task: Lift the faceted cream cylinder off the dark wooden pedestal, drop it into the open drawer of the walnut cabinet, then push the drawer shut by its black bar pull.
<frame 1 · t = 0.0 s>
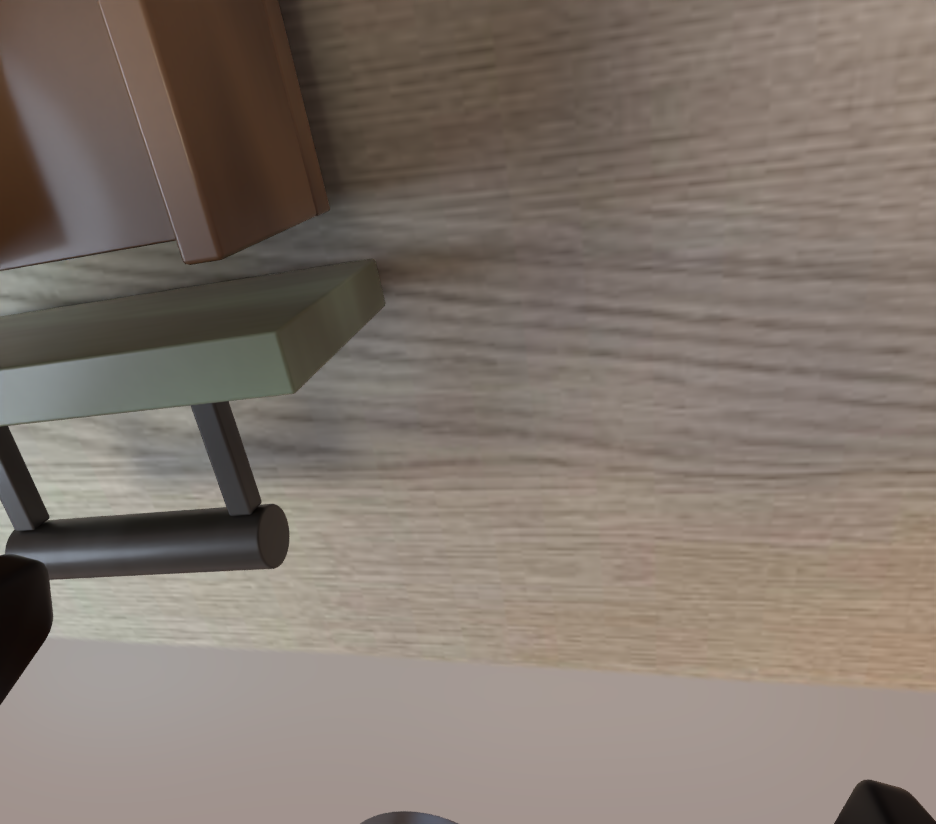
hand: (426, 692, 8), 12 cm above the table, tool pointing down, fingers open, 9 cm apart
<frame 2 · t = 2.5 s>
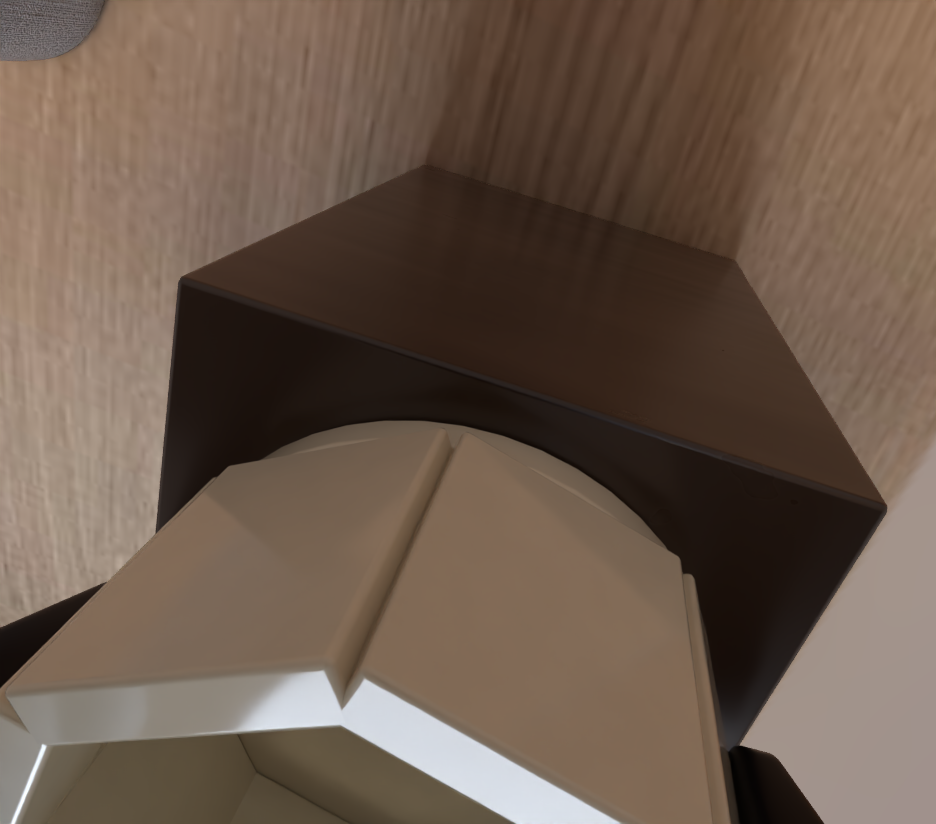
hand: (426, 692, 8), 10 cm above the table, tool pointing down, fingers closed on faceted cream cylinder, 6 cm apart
pedestal: (530, 357, 17), on the table
faceted cream cylinder: (434, 657, 8), point 10 cm above the table, touching gripper, pedestal
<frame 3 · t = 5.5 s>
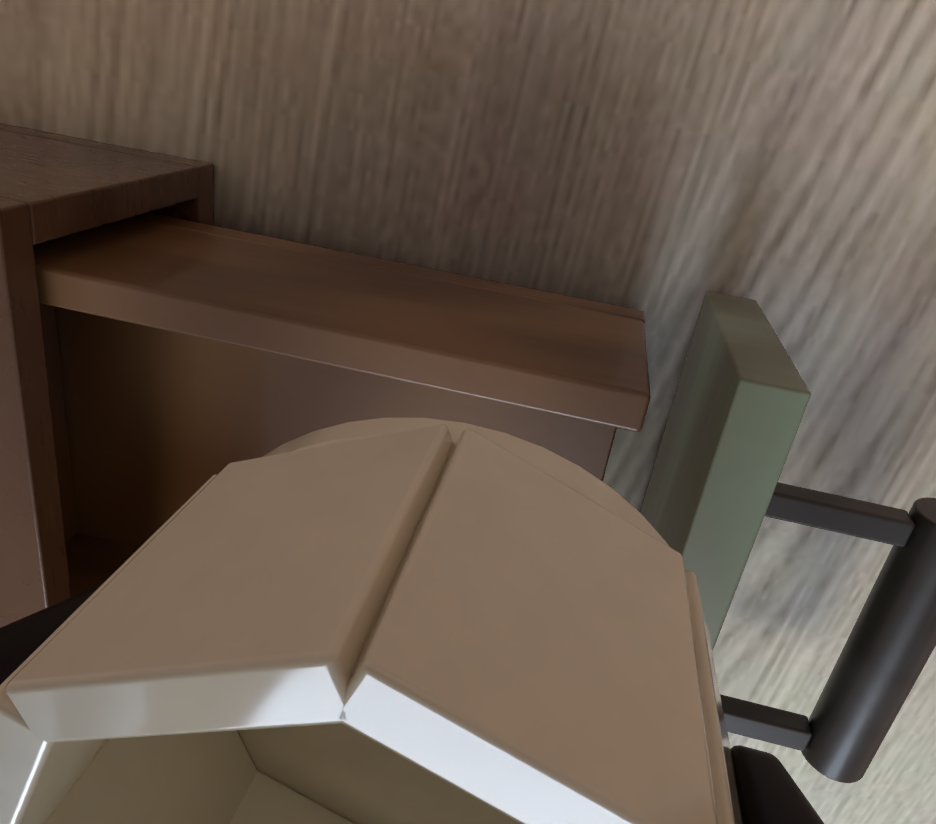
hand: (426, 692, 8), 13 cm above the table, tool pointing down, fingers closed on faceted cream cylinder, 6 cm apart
faceted cream cylinder: (435, 655, 8), point 13 cm above the table, touching gripper
drawer: (419, 517, 18), point 4 cm above the table, slide at 13.0 cm
when the fingers open (5 cm above the table, at t = 8.6 s): faceted cream cylinder drops 2 cm, resting on drawer.
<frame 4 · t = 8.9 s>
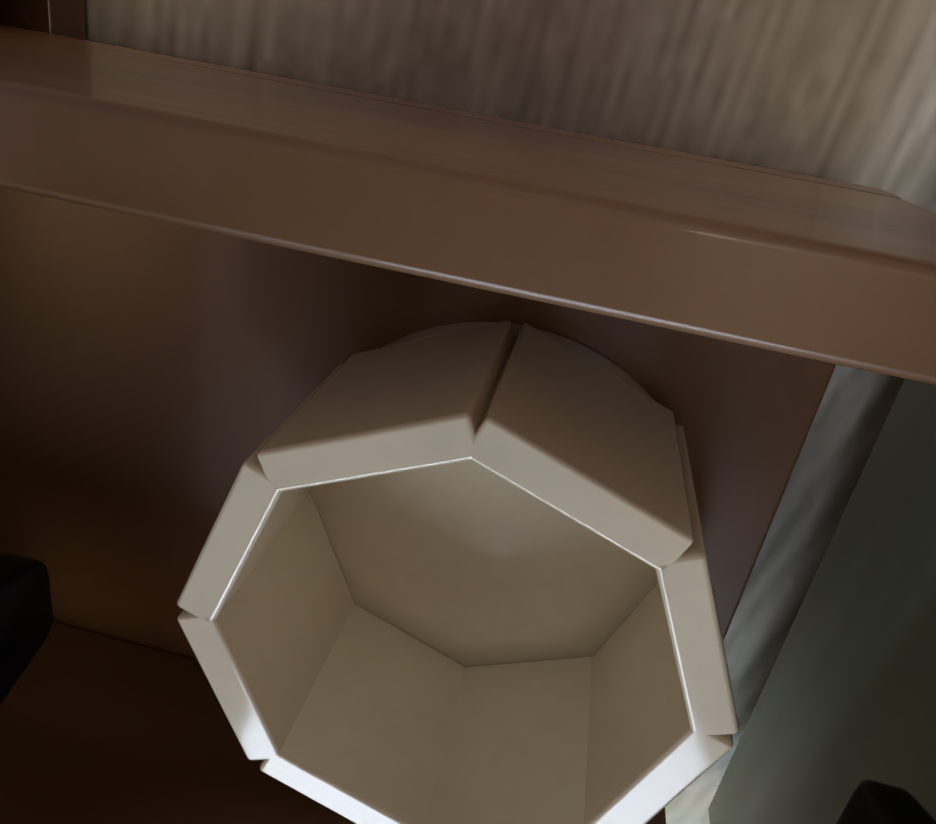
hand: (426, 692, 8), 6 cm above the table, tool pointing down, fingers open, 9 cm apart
faceted cream cylinder: (492, 509, 11), point 2 cm above the table, touching drawer
drawer: (446, 577, 10), point 4 cm above the table, slide at 13.0 cm, touching faceted cream cylinder
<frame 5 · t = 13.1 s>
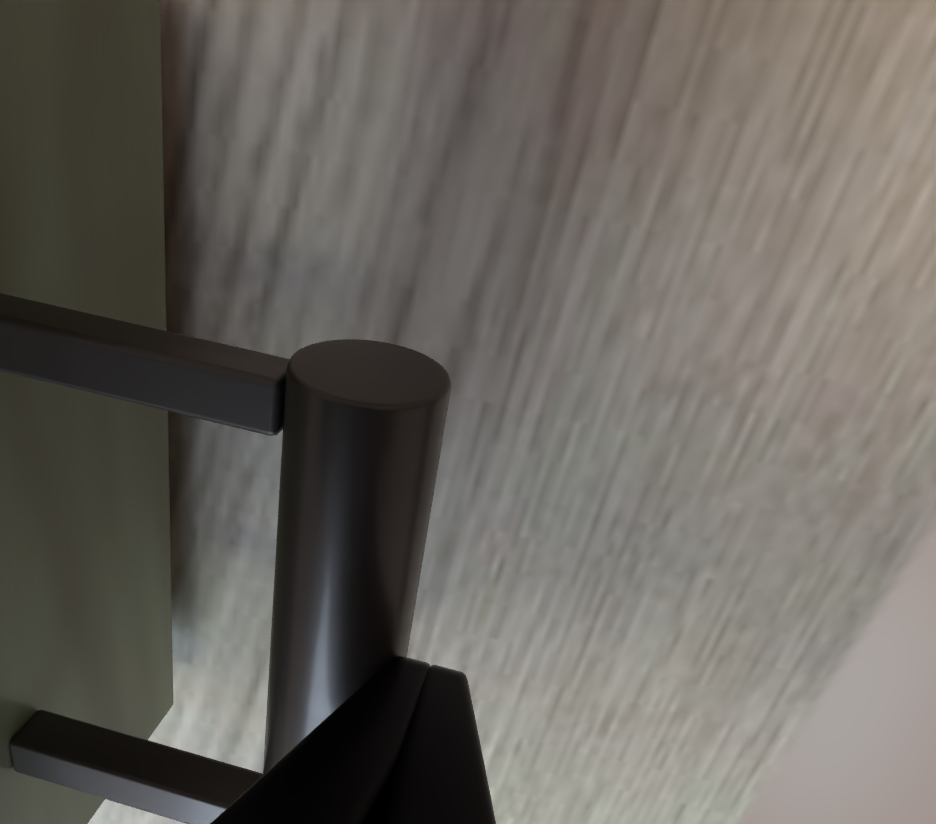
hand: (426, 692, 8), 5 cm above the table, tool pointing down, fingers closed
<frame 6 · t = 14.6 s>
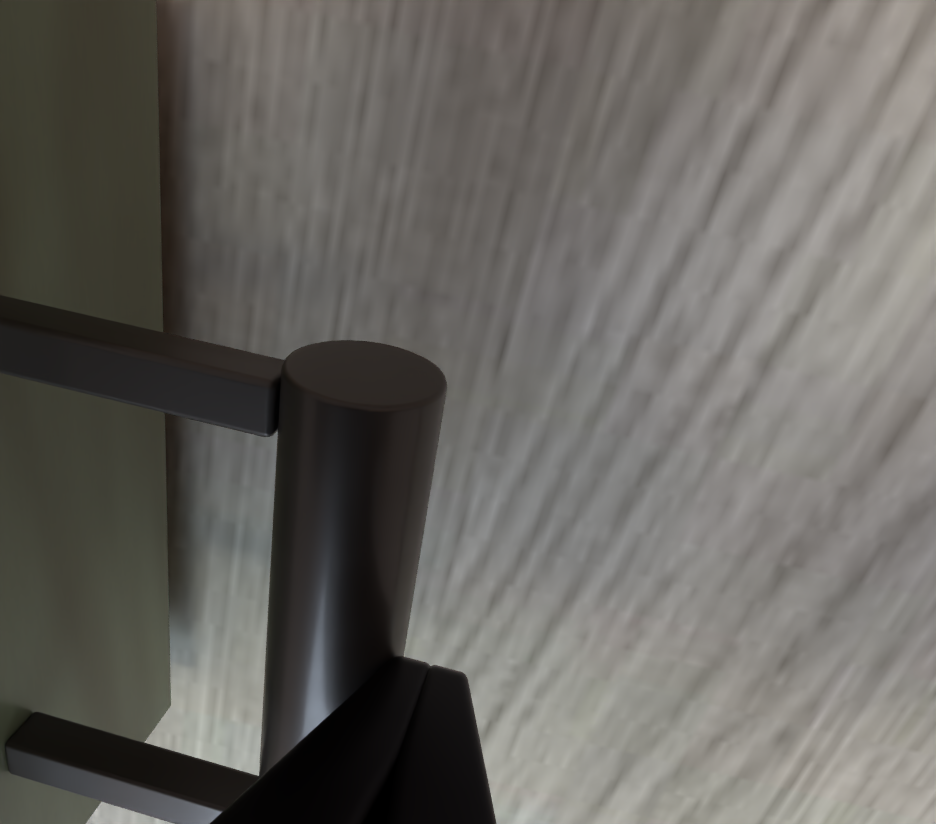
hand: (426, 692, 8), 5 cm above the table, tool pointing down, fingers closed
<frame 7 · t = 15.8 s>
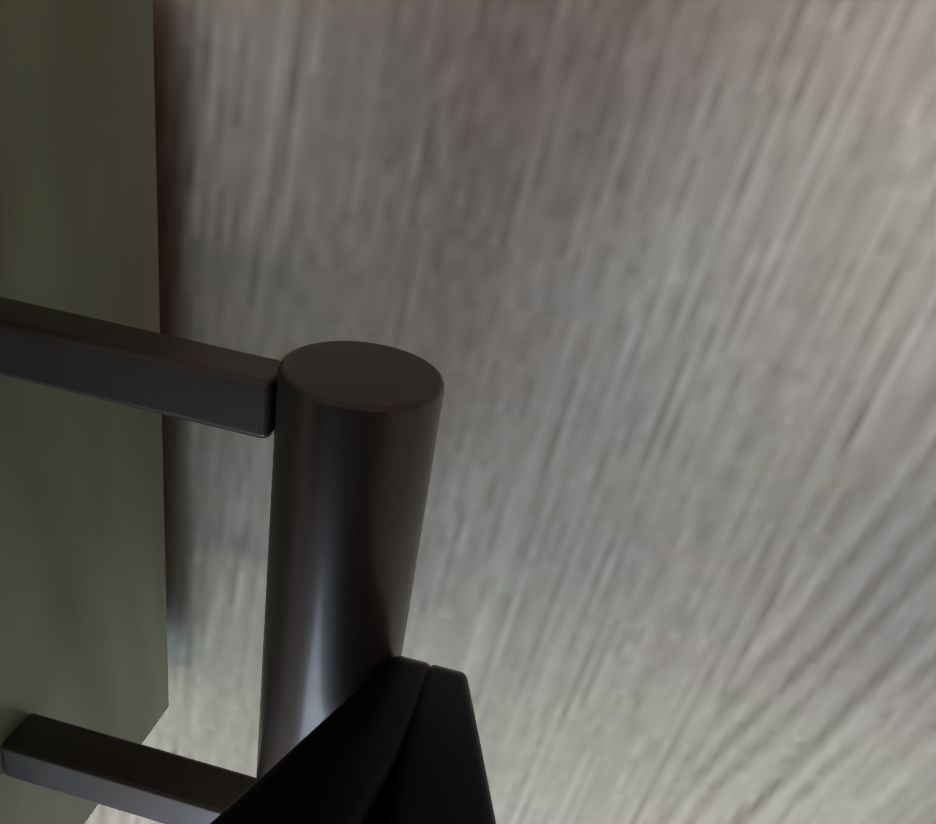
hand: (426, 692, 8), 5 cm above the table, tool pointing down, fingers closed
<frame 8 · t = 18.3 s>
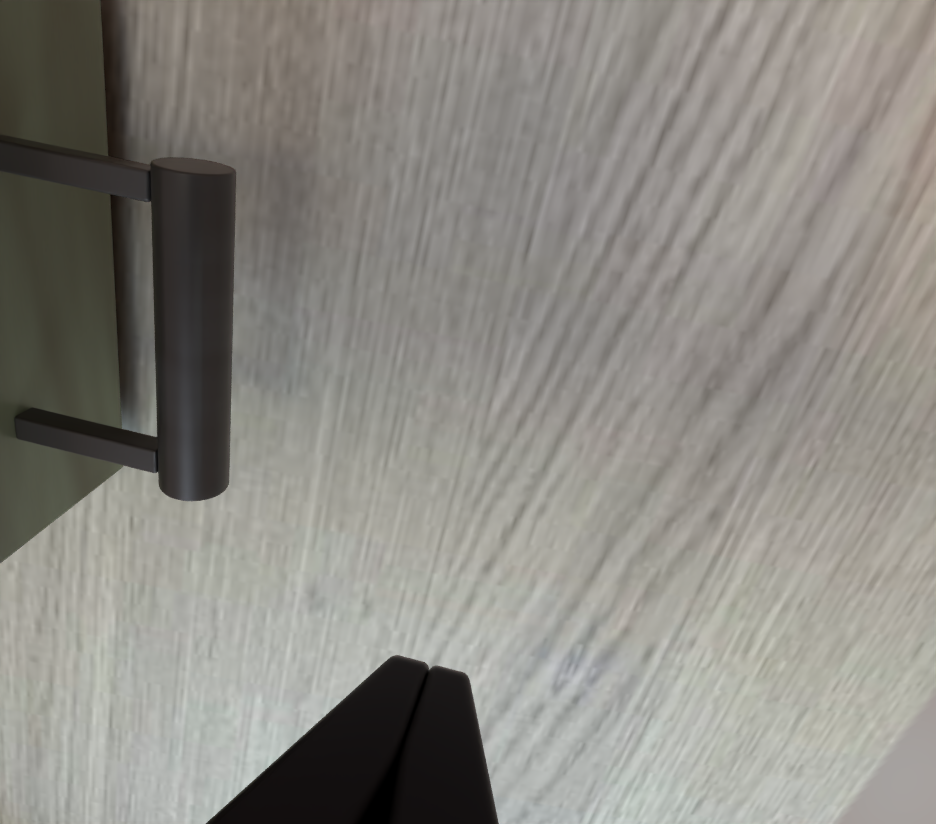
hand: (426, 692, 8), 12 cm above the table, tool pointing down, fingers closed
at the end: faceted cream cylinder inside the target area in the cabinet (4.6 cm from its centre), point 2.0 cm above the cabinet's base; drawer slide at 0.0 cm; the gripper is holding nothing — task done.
